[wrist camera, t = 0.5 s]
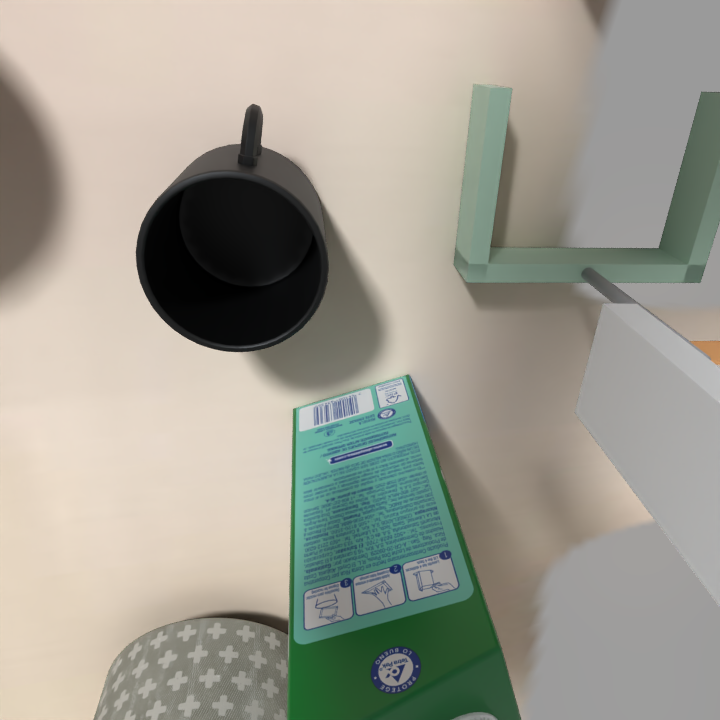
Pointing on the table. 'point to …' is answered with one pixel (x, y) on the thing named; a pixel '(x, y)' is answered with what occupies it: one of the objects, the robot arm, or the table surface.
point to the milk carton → (383, 572)
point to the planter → (200, 673)
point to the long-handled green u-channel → (590, 265)
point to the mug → (235, 247)
